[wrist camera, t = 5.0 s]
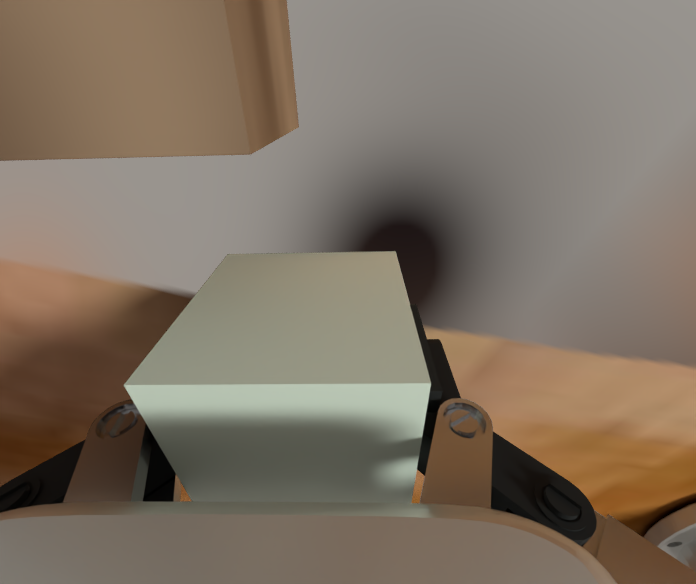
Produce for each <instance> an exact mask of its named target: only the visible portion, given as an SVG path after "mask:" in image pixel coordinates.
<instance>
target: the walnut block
mask: <svg viewBox="0 0 696 584" xmlns="http://www.w3.org/2000/svg"><path fill="white" fill-rule="evenodd" d="M298 127H299V124H298V113H297V103H296V93H295V83H294V72H293V62H292V52H291V41H290V30H289V20H288V10H287V1H286V0H0V161H1V160H3V161H4V160H44V159H83V158H122V157H123V158H126V157H164V156H203V155H204V156H205V155H244V154H252V153H254V152H256V151H258V150H259V149H261V148H263V147H264V146H266V145H268V144H270V143H272V142H273V141H275V140H277V139H279V138H280V137H282V136H284V135H286V134H287V133H289V132H291V131H293V130H294V129H296V128H298Z"/></svg>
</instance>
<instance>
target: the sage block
mask: <svg viewBox="0 0 696 584" xmlns="http://www.w3.org/2000/svg"><path fill="white" fill-rule="evenodd" d="M124 387H125V388H126V390H127V392H128V393H129V395H130V397H131V399H132V400H133V402H134V404H135V405H136V407H137V409H138V410H139V412H140V414H141V415H142V417H143V419H144V421H145V422H146V424H147V426H148V427H149V429H150V431H151V432H152V434H153V436H154V437H155V439H156V441H157V443H158V444H159V446H160V448H161V449H162V451H163V453H164V454H165V456H166V458H167V459H168V461H169V463H170V465H171V466H172V468H173V470H174V471H175V473H176V475H177V476H178V478H179V480H180V482H181V483H182V485H183V487H184V488H185V490H186V492H187V493H188V495H189V497H190V498H191V500H192V502H353V503H411V501H412V495H413V489H414V483H415V477H416V471H417V465H418V459H419V453H420V447H421V441H422V435H423V429H424V423H425V417H426V411H427V405H428V399H429V393H430V387H431V381H430V377H429V373H428V370H427V366H426V362H425V359H424V355H423V351H422V348H421V344H420V340H419V336H418V333H417V329H416V325H415V322H414V318H413V314H412V311H411V307H410V303H409V299H408V296H407V292H406V288H405V285H404V281H403V277H402V274H401V270H400V266H399V263H398V259H397V255H396V252H395V251H386V252H329V253H274V254H273V253H270V254H268V253H267V254H228V255H227V256H226V257H225V258H224V260H223V261H222V262H221V264H220V265H219V266H218V267H217V268H216V270H215V271H214V272H213V273H212V275H211V276H210V277H209V278H208V280H207V281H206V282H205V283H204V285H203V286H202V287H201V289H200V290H199V291H198V292H197V294H196V295H195V296H194V297H193V299H192V300H191V301H190V302H189V304H188V305H187V306H186V307H185V309H184V310H183V311H182V312H181V314H180V315H179V316H178V317H177V319H176V320H175V321H174V322H173V324H172V325H171V326H170V327H169V329H168V330H167V331H166V332H165V334H164V335H163V336H162V338H161V339H160V340H159V341H158V343H157V344H156V345H155V346H154V348H153V349H152V350H151V351H150V353H149V354H148V355H147V356H146V358H145V359H144V360H143V361H142V363H141V364H140V365H139V366H138V368H137V369H136V370H135V371H134V373H133V374H132V375H131V376H130V378H129V379H128V380H127V382H126V383H125V384H124Z"/></svg>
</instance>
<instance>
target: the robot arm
mask: <svg viewBox="0 0 696 584" xmlns="http://www.w3.org/2000/svg"><path fill="white" fill-rule="evenodd" d="M410 307H411V311H412V314H413V318H414V322H415V325H416V329H417V333H418V336H419V340H420V344H421V348H422V351H423V355H424V359H425V362H426V366H427V370H428V373H429V377H430V381H431V387H430V393H429V399H428V405H427V411H426V417H425V423H424V429H423V435H422V441H421V447H420V453H419V459H418V465H417V469H418V470H419V471H420V472H421V473H422V474H423V475H425V478H424V483H423V488H422V493H421V498H420V503H419V504H414V503H353V502H180V496H181V482H180V480H179V478H178V476H177V475H176V473H175V471H174V470H173V468H172V466H171V465H170V463H169V461H168V459H167V458H166V456H165V454H164V453H163V451H162V449H161V448H160V446H159V444H158V443H157V441H156V439H155V437H154V436H153V434H152V432H151V431H150V429H149V427H148V426H147V424H146V422H145V421H144V419H143V417H142V415H141V414H140V412H139V410H138V409H137V407H136V405H135V404H134V402H133V400H126V401H123V402H120V403H117V404H115V405H113V406H112V407H110V408H108V409H107V410H105V411H104V412H103V413H101V414H100V415H99V416H98V417H97V418H96V419H95V421H94V422H93V423H92V425H91V427H90V429H89V432H88V434H87V437H86V439H85V440H84V441H82V442H80V443H78V444H76V445H74V446H73V447H71V448H69V449H67V450H65V451H64V452H62V453H60V454H58V455H56V456H54V457H53V458H51V459H49V460H47V461H45V462H43V463H42V464H40V465H38V466H36V467H34V468H32V469H31V470H29V471H27V472H25V473H23V474H21V475H20V476H18V477H16V478H14V479H12V480H11V481H9V482H7V483H6V484H4V485H3V486H1V487H0V584H696V503H693V504H690V505H688V506H686V507H684V508H681V509H679V510H677V511H675V512H673V513H671V514H670V515H668V516H666V517H665V518H663V519H661V520H660V521H658V522H657V523H656V524H655V525H653V526H652V527H651V528H650V529H649V530H648V531H647V533H646V534H645V535H644V538H643V537H642V536H640V535H639V534H637V533H636V532H634V531H633V530H631V529H630V528H628V527H627V526H625V525H624V524H622V523H620V522H619V521H617V520H616V519H614V518H613V517H611V516H610V515H608V516H607V517H606V518H605V517H603V516H602V515H600V514H599V513H597V512H596V511H594V509H593V507H592V505H591V504H590V502H589V500H588V499H587V498H586V496H585V495H584V494H583V493H582V492H581V491H580V490H579V489H578V488H577V487H576V486H574V485H573V484H572V483H571V482H569V481H568V480H566V479H565V478H563V477H562V476H560V475H559V474H557V473H556V472H554V471H553V470H551V469H550V468H548V467H546V466H545V465H543V464H542V463H540V462H539V461H537V460H536V459H534V458H533V457H531V456H530V455H528V454H527V453H525V452H524V451H522V450H520V449H519V448H517V447H516V446H514V445H513V444H511V443H510V442H508V441H507V440H505V439H504V438H502V437H501V436H499V435H498V434H496V433H494V432H493V426H492V421H491V419H490V417H489V415H488V413H487V412H486V411H485V410H484V409H483V408H482V407H481V406H479V405H478V404H476V403H474V402H472V401H470V400H467V399H461V397H460V394H459V392H458V389H457V386H456V383H455V380H454V378H453V375H452V372H451V369H450V366H449V363H448V361H447V358H446V355H445V352H444V349H443V346H442V344H441V342H440V340H439V339H427V338H426V335H425V331H424V328H423V325H422V322H421V319H420V315H419V312H418V308H417V306H416V304H410Z"/></svg>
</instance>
